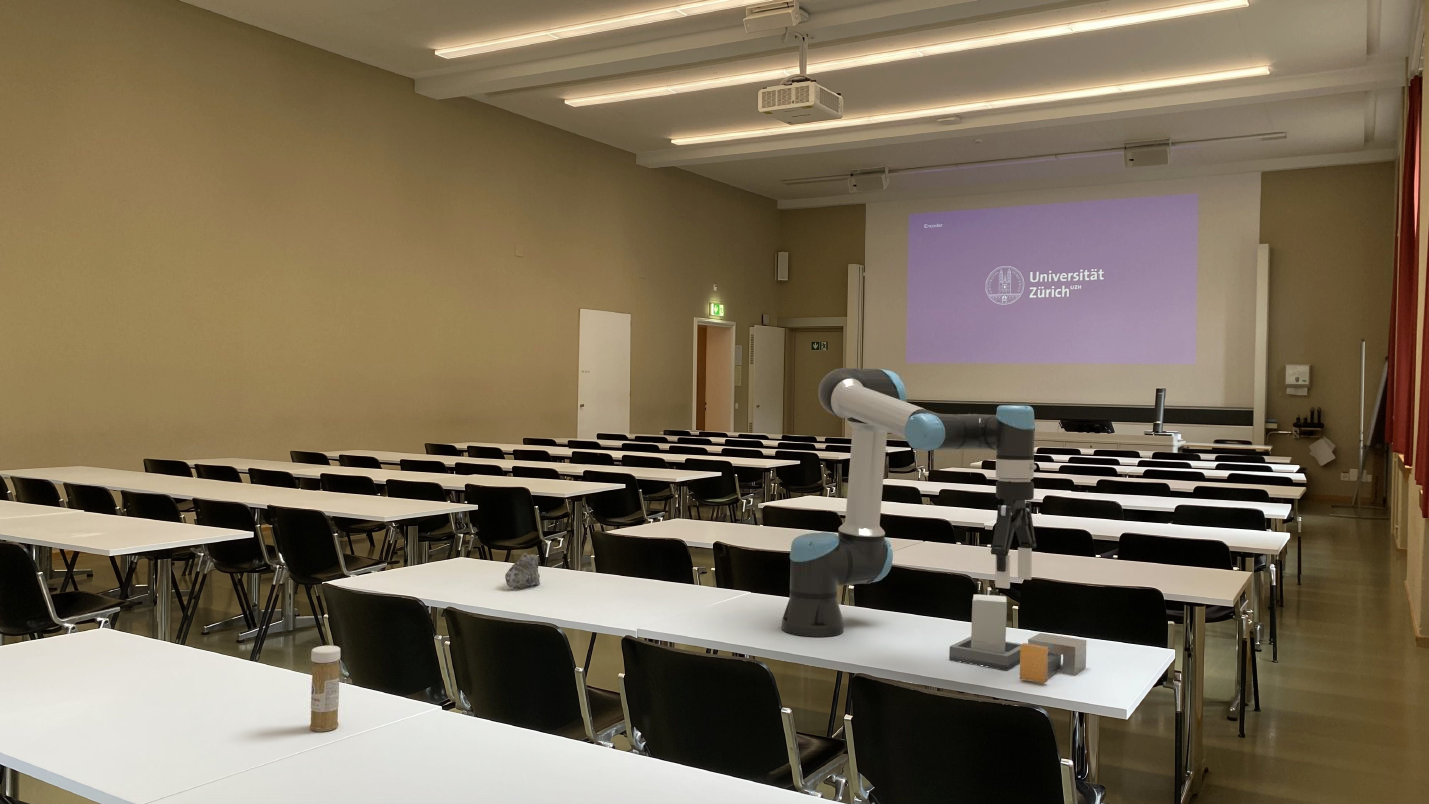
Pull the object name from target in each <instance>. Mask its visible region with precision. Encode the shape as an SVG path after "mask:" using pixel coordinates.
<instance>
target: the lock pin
mask: <svg viewBox="0 0 1429 804" xmlns="http://www.w3.org/2000/svg"><path fill="white" fill-rule="evenodd" d="M1020 644H1021V645H1020V663H1019V680H1024V681H1028V682H1035V683H1039V684H1046V683H1047V682H1048V677H1050V676H1051V675H1053V674H1055V673H1056V672H1058V671H1059V670H1060V669H1061V670H1062V654H1056V653H1050V652H1048V647H1045V646H1039V645H1033V644H1028V642H1027V643H1025V642H1024V643H1020Z"/></svg>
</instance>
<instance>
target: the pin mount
mask: <svg viewBox="0 0 1429 804" xmlns="http://www.w3.org/2000/svg"><path fill="white" fill-rule="evenodd" d="M1087 642H1088V641H1087V639H1083V638H1081V639H1080V638H1074V637H1070V636H1069V637H1068V636H1061V635H1054V634H1050V633H1043V632H1039V633H1037V634H1036V635H1033V636H1032V637H1030V638H1029V639H1027V644H1033V645H1039V646H1045V647H1048V652H1050V653H1056V654H1061V656H1062V674H1063V675H1067V676H1068V675H1069V676H1077V675H1078V674H1079V673H1081V672H1083V670H1085V669H1086V667H1087Z"/></svg>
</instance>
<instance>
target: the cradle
mask: <svg viewBox="0 0 1429 804" xmlns="http://www.w3.org/2000/svg"><path fill="white" fill-rule="evenodd" d="M1021 644H1022V643H1019V642H1018V643H1017V642H1012V641H1006V643H1005V654H999V653H993V652H987V651H982V650H976V649H971V636H968V637H967V638H965V639H962V640H960V641H957V642H956V643H954V644H952V645H949V657H948V660H949V661H952V660H954V662H958V661H961V662H960V663H963V662H966V663H965V664H969V663H972V664H971V665H974V664H977V665H976V666H980V665H983V666H982V667H985V666H988V667H987V668H990V669H991V668H992V669H996V668H997V669H998V670H1003V671H1009V670H1010V669H1012V668H1014V667H1016V666H1017V665H1020V645H1021Z"/></svg>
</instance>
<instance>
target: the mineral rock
mask: <svg viewBox="0 0 1429 804" xmlns="http://www.w3.org/2000/svg"><path fill="white" fill-rule="evenodd" d="M540 577H541V576H540V573H539V557H538V555H536V554H534V553H532V554H528V553H527V552H524V553H523V554H522V555H520V557H519V559H518V560H517V561H516V562H514V564H512V566H511V567H510V568H509V569H508V570H507V571H506V572H505V576H504V578H505V582H506V585H507V586H508V587H509V588H514V589H516V588H518V589H526V588H528V587H531V586H538V585H540V584H541V581H540V580H541V579H540Z"/></svg>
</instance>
